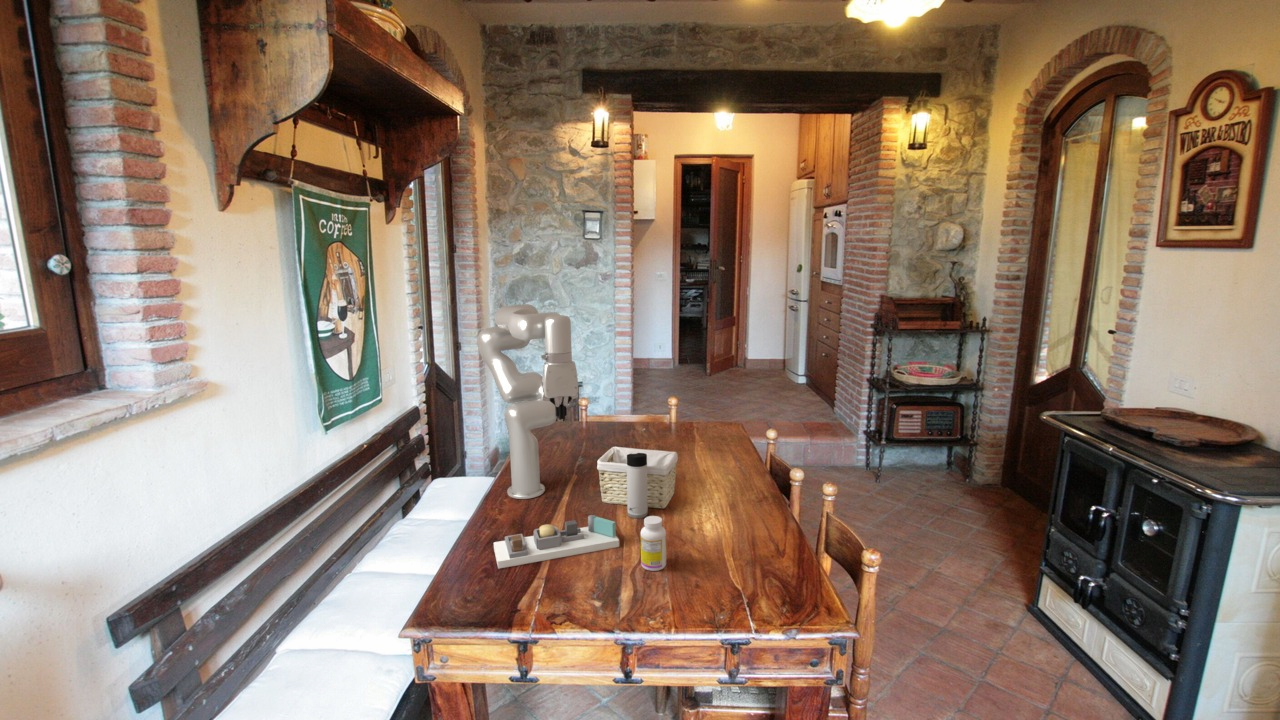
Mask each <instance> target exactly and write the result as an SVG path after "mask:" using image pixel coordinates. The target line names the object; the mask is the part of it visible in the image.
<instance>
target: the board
mask: <svg viewBox="0 0 1280 720" xmlns="http://www.w3.org/2000/svg"><path fill="white" fill-rule="evenodd" d="M577 530H578V535H573V536H567V537H566V535H565V529H564V530H563V529H562V530H559V527H558V526H555V525H554V524H542V525H540V526H539V528H535V529H534V530H533V535H530V536H524V535H523V533H517V534H516V535H520V534H521V537H522V544H523V551H517V552H513V550H512V536H514V535H515V534H511V535H506V536H504V540H499V541H495V542H493V551H494V555H495V561H496V564H497V569H498V570H499V569H500V570H501V569H504V568H505V569H506V568H509V567H516V566H522V565H525V564H526V565H527V564H532V563H533V564H534V563H537V562H543V561H549V560H554V559H560V558H564V557H565V558H566V557H570V556H576V555H577V556H578V555H581V554H587V553H593V552H599V551H603V550H604V551H605V550H609V549H614V548H619V547H620V539H619V537H618V536H617V534H616V535H615V536H614V537H611V536H607V535H604V534H600V533H597V532H590V531H588V526H584V527H577Z"/></svg>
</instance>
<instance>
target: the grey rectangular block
mask: <svg viewBox="0 0 1280 720" xmlns="http://www.w3.org/2000/svg"><path fill="white" fill-rule="evenodd" d="M577 528H578V522H577V521H576V519H572V520H568V521H564V530H565V535H566V537H567V536H573V535H578V530H577Z"/></svg>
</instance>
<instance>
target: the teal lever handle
mask: <svg viewBox="0 0 1280 720" xmlns="http://www.w3.org/2000/svg"><path fill="white" fill-rule="evenodd" d="M587 527H588V531H590V532H597V533H600V534H604V535H607V536H611V537H614V536H615V535H616V536H617V534H616V521H613V520H610V519H607V518H603V517H599V516H597V515H595V514H590V515H588V517H587Z"/></svg>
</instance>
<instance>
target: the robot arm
mask: <svg viewBox="0 0 1280 720" xmlns="http://www.w3.org/2000/svg"><path fill="white" fill-rule="evenodd" d="M494 322H495V324H496V326H493V327H489V328H488V327H487V328H485V329H482V330H481V331H480V332H479V333H478V335H477V339H476V340H477V341H476V342H477V348H478V352H479V354H480V356H481V359H482V360H483V362H484V363H485V365H486V366H487V367H488V370H490V372H491V374H492V377H493V380H494V383H495V385H496V387H497V390H498V392H499V395H500V397H501V399H502V400H503V402H505V403H508V404H510V405H508V406H507V407H506V409H505V411H504V419H505V424H506V429H507V434H508V443H509V456H510V458H509V459H510V475H511V476H510V477H511V478H510V479H511V486H509V487H508V488H507V495H508V497H510V498H513V499H517V500H527V499H534V498H536V497H540V496H541V495H543V494H544V492H545V491H546V487H545V485H544V484H543V483H541V479H540V478H541V477H540V476H541V475H540V456H539V455H540V454H539V440H538V439H537V437H536V436H535V435H534V434H533V433H532V430H534V429H538V428H543V427H548V426H550V425H553V424H555V423H556V422H557V419H558V420H560V421H561V420H565V419H566V416H567V415H568V414H567V406H568V404H569V403H570V402H571V401H572V400H575V399H577V398H579V380H578V379H579V378H578V371H577V366H576V362H575V361H573V355H572V352H573V350H572V347H573V346H572V326H571V325H572V324H571V318H570V317H569V316H567V315H564V314H560V313H557V312H553V311H552V312H539V311H538V308H536V307H535V306H534V305H532V304H517V305H515V304H513V305H504V306H501V307H500V308H499V309H497V311H496V312H495V314H494ZM538 339H539V340H540V339H544V340H545V341H544V342H545V343H544V344H545V345H544V346H545V352H544V354H542V355H541V354H540V360H541V361H545V362H544V363H543V368H542V375H541V374H540V373H539V372H534V371H531V372H525V373H524V372H523V373H522V372H519V370H518V368H517V366H516V363H515V361H514V360H513V359H512V358H511V357H510V356H508V355H507V354H506V353H503V352H502V351H509V350H510V351H511V350H512V351H513V350H518V349H524V348H525V347H527V346H528V345H529V344H530V341H531V340H538ZM560 398H561V401H560V400H559V399H560ZM560 402H561V403H560Z"/></svg>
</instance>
